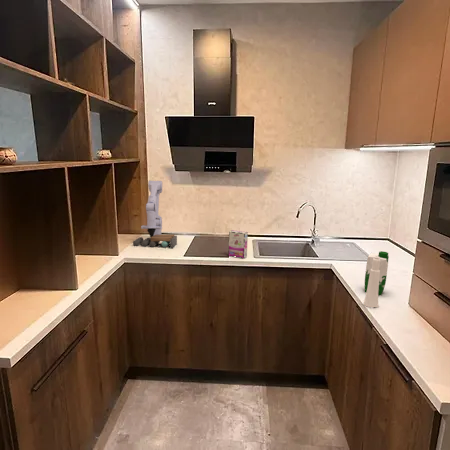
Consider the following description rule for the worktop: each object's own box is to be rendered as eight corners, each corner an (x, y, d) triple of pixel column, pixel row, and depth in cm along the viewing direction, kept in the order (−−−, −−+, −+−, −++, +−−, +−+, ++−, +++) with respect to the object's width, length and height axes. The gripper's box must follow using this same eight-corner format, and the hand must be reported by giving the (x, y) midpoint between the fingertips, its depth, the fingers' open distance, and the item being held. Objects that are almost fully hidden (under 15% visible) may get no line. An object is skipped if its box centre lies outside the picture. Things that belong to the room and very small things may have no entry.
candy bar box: (247, 257, 210) (248, 231, 207) (244, 259, 206) (244, 233, 202) (231, 254, 215) (232, 229, 212) (228, 256, 211) (228, 231, 208)
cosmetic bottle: (375, 309, 140) (381, 259, 136) (361, 304, 144) (366, 256, 140) (380, 305, 144) (386, 257, 140) (366, 300, 149) (372, 253, 144)
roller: (164, 248, 226) (168, 243, 225) (160, 244, 226) (163, 240, 225) (168, 244, 236) (172, 240, 235) (164, 241, 236) (167, 236, 235)
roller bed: (138, 242, 239) (138, 237, 238) (170, 244, 236) (170, 238, 235) (132, 245, 229) (132, 240, 228) (166, 247, 226) (166, 242, 225)
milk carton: (382, 297, 153) (387, 255, 149) (361, 292, 158) (366, 252, 154) (385, 291, 160) (390, 251, 156) (365, 286, 165) (370, 248, 161)
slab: (155, 238, 236) (155, 234, 236) (174, 237, 235) (174, 234, 234) (150, 241, 227) (150, 237, 226) (170, 241, 225) (170, 237, 224)
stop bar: (174, 244, 236) (174, 235, 235) (176, 244, 236) (176, 235, 235) (170, 248, 225) (170, 239, 224) (172, 248, 225) (172, 239, 224)
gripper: (139, 220, 226) (139, 239, 229) (159, 221, 224) (160, 240, 227) (143, 218, 233) (143, 237, 235) (162, 219, 231) (163, 238, 234)
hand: (151, 239), depth 232 cm, fingers closed
